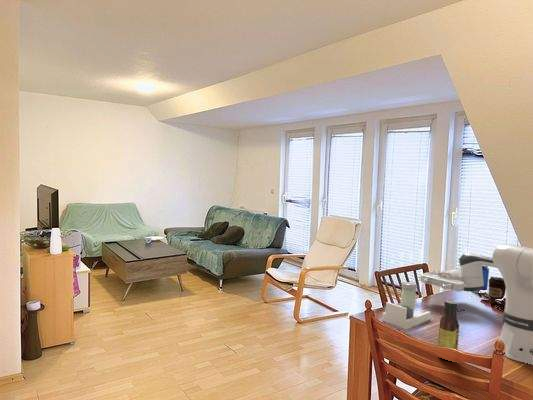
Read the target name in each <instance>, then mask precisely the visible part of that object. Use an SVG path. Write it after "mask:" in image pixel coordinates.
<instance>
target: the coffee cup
mask: <svg viewBox="0 0 533 400" xmlns="http://www.w3.org/2000/svg"><path fill="white" fill-rule="evenodd" d="M489 297H490V298H491V299H489ZM504 297H506V287H505V283H504V279H503V277H498V276H496V277H495V276H490V278H488V302H489V303H491V302H492V304H495V303H494V302H495V299H502V298H503V299H504Z"/></svg>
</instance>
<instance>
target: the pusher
mask: <svg viewBox="0 0 533 400" xmlns="http://www.w3.org/2000/svg"><path fill="white" fill-rule="evenodd" d="M395 304H396V305H399V306H401V304H398V303H395ZM402 307H404V306H402ZM405 308H407V307H405ZM412 317H413V309H411V308H407V314H406V320H407V319H410V318H412Z"/></svg>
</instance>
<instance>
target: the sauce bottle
mask: <svg viewBox="0 0 533 400" xmlns="http://www.w3.org/2000/svg"><path fill="white" fill-rule="evenodd" d="M457 308H458V302H457V301H454V300H450V299H449V300H448V299H447V300H444V311H443V313H444V314H443V315H442V316H441V317H440V319H439V326H438V338H437V339H438V340H437V346H438V345H439V346H443V347H448V348H452V349H456V350H457V351H458V348H459V347H458V346H459V336H460V335H459V333H460V324H459V320H458V317H457Z"/></svg>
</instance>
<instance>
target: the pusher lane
mask: <svg viewBox="0 0 533 400" xmlns="http://www.w3.org/2000/svg"><path fill="white" fill-rule="evenodd" d="M396 304H397V303H392V302H389V301H386V302H385V311H384V312H382V317H381V318H382V319H381V321H382V322H385V323H388V324H390V325H393V326H395V327H398V328H401V329H403V330H406V331H407V330H409V329H411V328H414V327H416V326H419V325H420V324H423V323H425V322H427V321H430V319H431V311H429V310H427V311H424V312H422V313H420V314H417V313H414V317H412V318H410V319H407V320H406V314H407V308H405V307H402V306H399V305H400V304H398V305H396Z"/></svg>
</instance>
